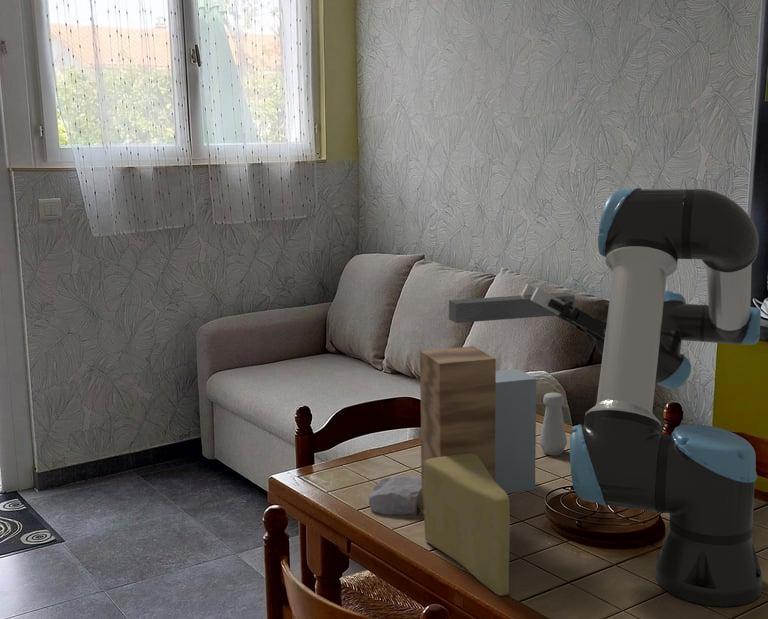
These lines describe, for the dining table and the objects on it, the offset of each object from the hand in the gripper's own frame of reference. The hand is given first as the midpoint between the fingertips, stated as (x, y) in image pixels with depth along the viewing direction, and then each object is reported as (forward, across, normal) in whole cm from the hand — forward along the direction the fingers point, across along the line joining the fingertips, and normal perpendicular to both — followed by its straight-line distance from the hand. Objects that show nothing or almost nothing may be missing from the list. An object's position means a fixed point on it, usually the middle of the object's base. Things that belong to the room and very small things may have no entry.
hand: (529, 292), depth 171 cm
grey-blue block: (-12, 0, -36) cm, 38 cm away
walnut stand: (-2, -12, -42) cm, 44 cm away
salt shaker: (-30, +14, -27) cm, 42 cm away
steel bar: (+1, 0, -6) cm, 6 cm away
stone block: (+5, -1, -47) cm, 47 cm away
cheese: (+1, -29, -44) cm, 53 cm away
